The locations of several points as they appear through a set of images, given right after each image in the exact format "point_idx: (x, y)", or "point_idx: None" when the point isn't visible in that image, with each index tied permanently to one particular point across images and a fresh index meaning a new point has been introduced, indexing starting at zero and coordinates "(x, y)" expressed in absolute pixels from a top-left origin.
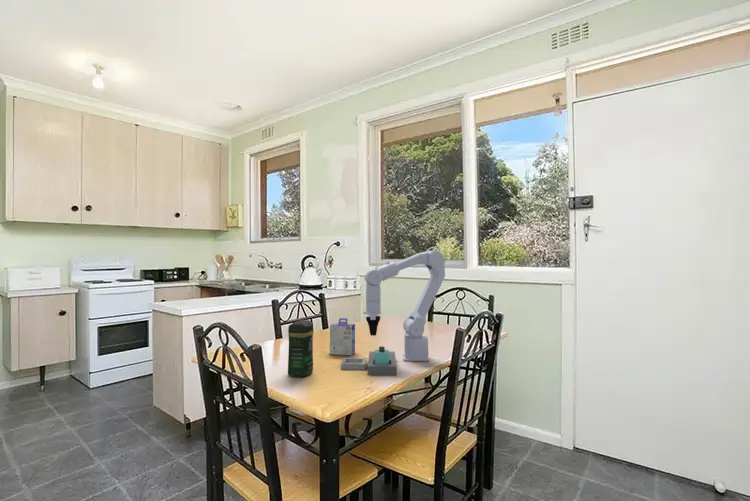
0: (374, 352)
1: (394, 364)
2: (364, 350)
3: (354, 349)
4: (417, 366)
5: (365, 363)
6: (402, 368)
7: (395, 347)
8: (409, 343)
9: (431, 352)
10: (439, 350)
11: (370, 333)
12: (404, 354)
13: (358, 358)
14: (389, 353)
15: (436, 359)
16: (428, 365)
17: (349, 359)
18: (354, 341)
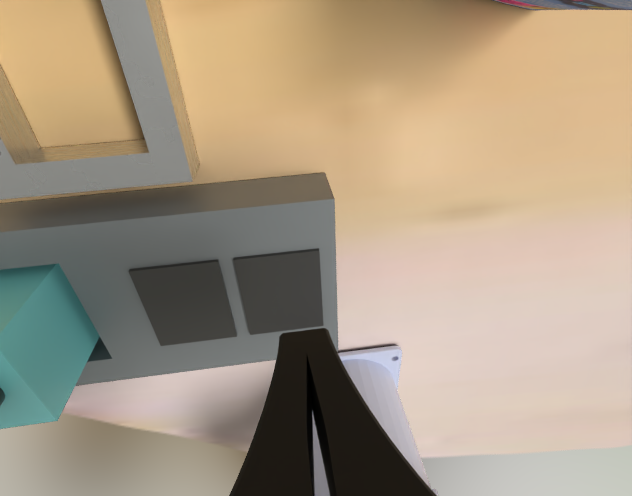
0: (300, 241)
1: None
2: (591, 97)
3: (536, 6)
4: (209, 406)
5: (16, 195)
6: None
7: (591, 292)
8: (315, 470)
9: (448, 424)
10: (475, 441)
11: (279, 354)
12: (349, 371)
13: (156, 109)
14: (284, 332)
15: None
16: (237, 433)
17: (104, 5)
18: (597, 7)
